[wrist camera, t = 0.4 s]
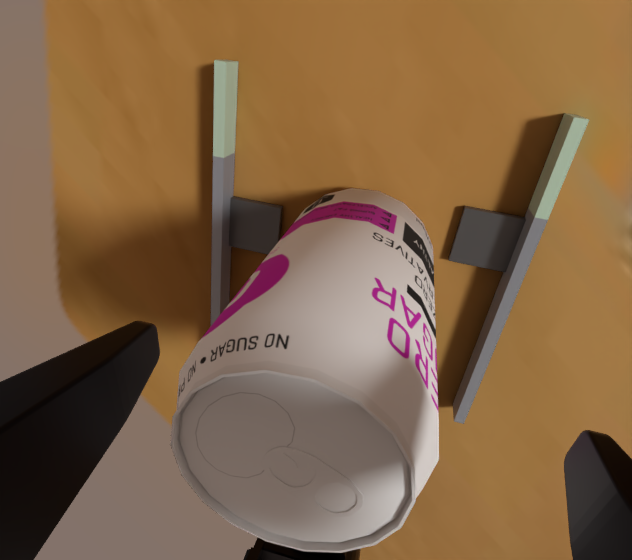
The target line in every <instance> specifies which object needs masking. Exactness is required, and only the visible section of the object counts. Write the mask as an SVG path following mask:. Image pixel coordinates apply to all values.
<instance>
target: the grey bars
mask: <svg viewBox="0 0 632 560" xmlns="http://www.w3.org/2000/svg"><path fill="white" fill-rule="evenodd" d="M237 83H238V61H232V60H214V119H213V192H212V264H211V326H212V324H213V323H214V322H215V321H216V319H217V318H218V317H219V316H220V314H221V313H222V312H223V311H224V309H225V308H226V307H227V306H228V304H229V295H230V268H231V246H232V247H236V248H241V249H246V250H250V251H255V252H259V253H264V254H269V253H270V252H271V250H272V249H273V248H274V247H275V245H276V244H277V243H278V242H279V240H280V232H281V221H282V211H283V206H279V205H274V204H269V203H265V202H260V201H255V200H250V199H245V198H240V197H235V196H233V189H234V162H235V136H236V109H237ZM588 121H589V119H586V118H584V117H581V116H579V115H573V114H566V113H564V116H563V118H562V121H561V123H560V126H559V129H558V131H557V134H556V136H555V139H554V142H553V144H552V147H551V149H550V152H549V155H548V157H547V160H546V162H545V165H544V168H543V170H542V173H541V175H540V178H539V181H538V183H537V186H536V189H535V191H534V194H533V196H532V199H531V202H530V204H529V207H528V209H527V212H526V215H525V217H521V216H516V215H511V214H506V213H500V212H495V211H490V210H485V209H480V208H474V207H469V206H464V209H463V212H462V215H461V219H460V222H459V225H458V228H457V232H456V235H455V238H454V241H453V245H452V248H451V251H450V254H449V261H454V262H458V263H463V264H468V265H473V266H477V267H482V268H487V269H492V270H497V271H501V272H503V275H502V277H501V280H500V282H499V285H498V288H497V290H496V293H495V295H494V298H493V301H492V303H491V306H490V308H489V311H488V314H487V316H486V319H485V321H484V324H483V327H482V329H481V332H480V334H479V337H478V340H477V342H476V345H475V348H474V350H473V353H472V355H471V358H470V361H469V363H468V366H467V368H466V371H465V374H464V376H463V379H462V381H461V384H460V387H459V389H458V392H457V394H456V397H455V400H454V402H453V415H454V421H455V422H459V423H463V424H464V422H465V419H466V417H467V415H468V412H469V410H470V407H471V405H472V402H473V400H474V398H475V395H476V393H477V390H478V388H479V386H480V383H481V381H482V378H483V376H484V373H485V371H486V369H487V366H488V364H489V361H490V359H491V356H492V354H493V352H494V349H495V347H496V344H497V342H498V339H499V337H500V335H501V332H502V330H503V327H504V325H505V323H506V320H507V318H508V315H509V313H510V310H511V308H512V306H513V303H514V301H515V298H516V296H517V293H518V291H519V289H520V286H521V284H522V281H523V279H524V276H525V274H526V272H527V269H528V267H529V264H530V262H531V259H532V257H533V255H534V252H535V250H536V247H537V245H538V243H539V240H540V238H541V235H542V233H543V230H544V228H545V226H546V223H547V221H548V218H549V216H550V213H551V211H552V209H553V206H554V204H555V201H556V199H557V196H558V194H559V192H560V189H561V187H562V184H563V182H564V180H565V177H566V175H567V172H568V170H569V167H570V165H571V163H572V160H573V158H574V155H575V153H576V150H577V148H578V146H579V143H580V141H581V138H582V136H583V133H584V131H585V129H586V126H587V124H588Z"/></svg>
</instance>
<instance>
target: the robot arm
mask: <svg viewBox="0 0 632 560" xmlns="http://www.w3.org/2000/svg"><path fill="white" fill-rule="evenodd" d="M159 355H160V349H159V342H158V334H157V328H156V326H155V325H153V324H151V323H147V322H143V321H135V322H132V323H130V324H128V325H125V326H123V327H121V328H119V329H117V330H114V331H112V332H110V333H108V334H105V335H103V336H101V337H99V338H97V339H94V340H92V341H90V342H88V343H85V344H83V345H81V346H79V347H77V348H74V349H72V350H70V351H68V352H66V353H63V354H61V355H59V356H57V357H54V358H52V359H50V360H48V361H46V362H44V363H41V364H39V365H37V366H34V367H32V368H30V369H28V370H26V371H24V372H21V373H19V374H17V375H15V376H12V377H10V378H8V379H6V380H3V381H1V382H0V560H34V558H35V557H36V555H37V554H38V552H39V551H40V549H41V548H42V546H43V545H44V543H45V542H46V540H47V539H48V537H49V536H50V534H51V533H52V531H53V530H54V528H55V527H56V525H57V524H58V522H59V521H60V519H61V518H62V516H63V515H64V513H65V512H66V510H67V509H68V507H69V506H70V504H71V503H72V501H73V500H74V498H75V497H76V495H77V494H78V492H79V491H80V489H81V488H82V486H83V485H84V483H85V482H86V480H87V479H88V478H89V476H90V474H91V473H92V472H93V470H94V468H95V467H96V465H97V464H98V463H99V461H100V460H101V458H102V457H103V455H104V454H105V452H106V451H107V449H108V448H109V446H110V445H111V443H112V442H113V440H114V439H115V437H116V436H117V434H118V433H119V431H120V430H121V428H122V427H123V425H124V423H125V422H126V420H127V418H128V417H129V415H130V413H131V411H132V409H133V407H134V406H135V404H136V402H137V400H138V398H139V396H140V394H141V392H142V390H143V388H144V387H145V385H146V383H147V381H148V379H149V377H150V375H151V373H152V371H153V369H154V368H155V366H156V364H157V362H158V359H159ZM564 473H565V485H566V498H567V510H568V523H569V534H570V543H571V550H572V556H573V560H632V459H631V458H630V457H629V456H628V455H627V454H626V453H625V451H624V450H623V449H622V448H621V447H620V446H619V445H618V444H617V443H616V442H615V441H614V440H613V439H612V438H611V437H610V436H608V435H606V434H603V433H599V432H595V431H591V430H585V431H583V432H582V433H581V434H580V435H579V437H578V438H577V439H576V441H575V442H574V444H573V445H572V447H571V448H570V450H569V451H568V452H567V454H566V457H565V460H564ZM360 549H361V548H360ZM360 549H356V550H351V551H347V552H343V553H333V552H307V551H301V550H297V549H293V548H289V547H285V546H282V545H277V544H274V543H270V542H266V541H264V540H262V539H260V538H257V541H256V543H255V545H254V548H251V549H249V550H247V552H246V555H245V557H244V560H359V557H360Z"/></svg>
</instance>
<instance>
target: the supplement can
mask: <svg viewBox="0 0 632 560" xmlns="http://www.w3.org/2000/svg"><path fill="white" fill-rule="evenodd" d="M171 448H172V450H173V453H174V456H175V459H176V461H177V464H178V467H179V469H180V472H181V475H182V476H183V477H184V479H185V480H186V481H187V482H188V484H189V485H190V486H191V488H192V489H193V490H194V491H195V493H196V494H197V495H198V497H199V498H200V499H201V500H202V502H203V503H205V504H206V505H207V506H209V507H210V508H211V509H212V510H214V511H215V512H216V513H218V514H219V515H220V516H221V517H223V518H224V519H226V520H227V521H228V522H229V523H230V524H232V525H234V526H236V527H238V528H240V529H242V530H244V531H246V532H248V533H250V534H252V535H254V536H256V537H258V538H260V539H262V540H264V541H266V542H270V543H274V544H278V545H282V546H285V547H289V548H293V549H297V550H301V551H307V552H333V553H343V552H347V551H351V550H356V549H360V548H364V547H369V546H373V545H376V544H377V543H379V542H380V541H382V540H383V539H385V538H386V537H388V536H389V535H391V534H393V533H394V532H396V531H397V530H399V529H400V528H401V527H402V525H403V524H404V522H405V520H406V518H407V516H408V515H409V513H410V511H411V509H412V507H413V505H414V504H415V502H416V497H417V496H418V495H419V493H420V492H421V491H422V489H423V487H424V486H425V484H426V482H427V480H428V478H429V477H430V475H431V473H432V471H433V469H434V467H435V466H436V464H437V462H438V460H439V418H438V388H437V357H436V327H435V297H434V267H433V246H432V243H431V241H430V238H429V236H428V234H427V231H426V229H425V227H424V224H423V222H422V221H421V220H420V219H419V218H418V217H417V216H416V215H415V214H414V213H413V212H412V211H411V210H410V209H409V208H408V207H407V206H406V205H405V204H404V203H403V202H401V201H399V200H396V199H394V198H392V197H390V196H388V195H386V194H384V193H382V192H380V191H374V190H365V189H355V188H350V189H345V190H341V191H337V192H333V193H329V194H325V195H324V196H322V197H321V198H320V199H318V200H317V201H315V202H314V203H312V204H311V205H309V206H308V207H307V208H305V209H304V210H303V212H302V213H301V214H300V215H299V217H298V218H297V219H296V220H295V222H294V223H293V224H292V225H291V227H290V228H289V229H288V230H287V232H286V233H285V234H284V235H283V237H282V238H281V239H280V240H279V242H278V243H277V244H276V245H275V247H274V248H273V249H272V250H271V252H270V253H269V254H268V255H267V257H266V258H265V259H264V260H263V262H262V263H261V264H260V266H259V267H258V268H257V269H256V271H255V272H254V273H253V274H252V276H251V277H250V278H249V279H248V281H247V282H246V283H245V284H244V286H243V287H242V288H241V289H240V291H239V292H238V293H237V294H236V296H235V297H234V298H233V299H232V301H231V302H230V303H229V304H228V306H227V307H226V308H225V309H224V311H223V312H222V313H221V314H220V316H219V317H218V318H217V319H216V321H215V322H214V323H213V324H212V326H211V327H210V328H209V329H208V331H207V332H206V333H205V334H204V336H203V337H202V338H201V339H200V341H199V342H198V343H197V345H196V346H195V348H194V350H193V351H192V353H191V354H190V356H189V358H188V359H187V361H186V362H185V364H184V365H183V367H182V369H181V370H180V373H179V385H178V398H177V411H176V412H175V414H174V415H173V419H172V434H171Z"/></svg>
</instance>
